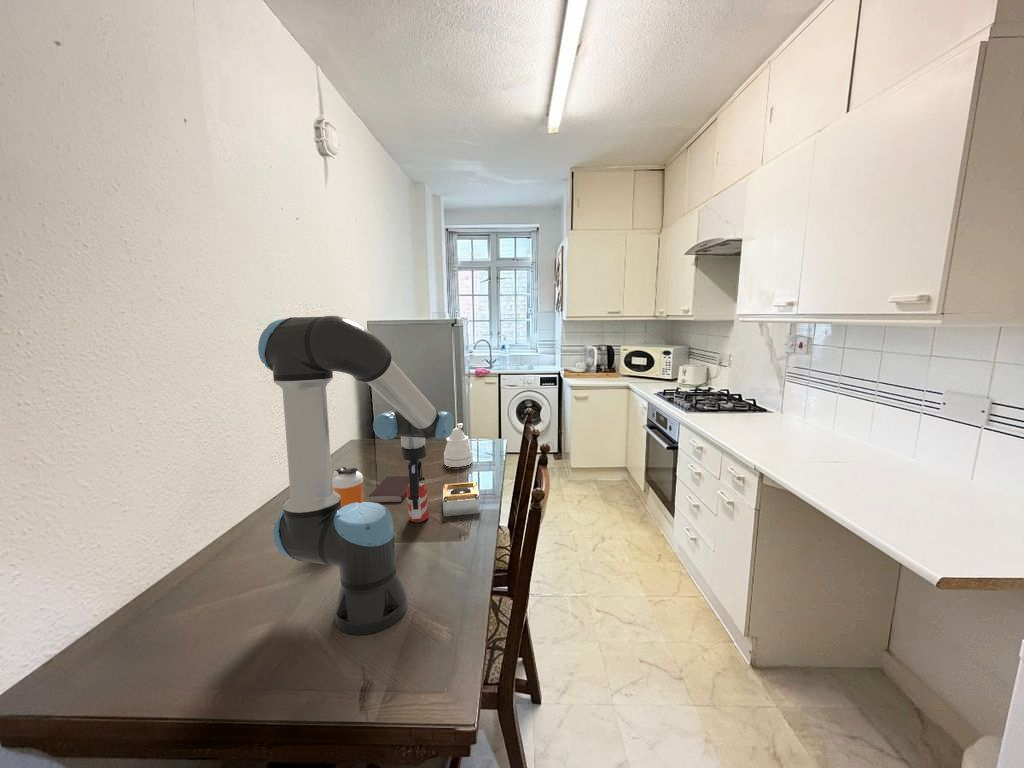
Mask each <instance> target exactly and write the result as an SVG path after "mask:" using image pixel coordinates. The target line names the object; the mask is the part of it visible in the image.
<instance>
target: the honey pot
mask: <svg viewBox="0 0 1024 768" xmlns="http://www.w3.org/2000/svg"><path fill="white" fill-rule="evenodd" d="M456 425H457V427H455V428H453V432H452V434H451V435H450V437H448V438H445V440H446V445H445V449H444V451H443V463H444V464H445V465H446V466H449V467H448V468H450V467H460V466H466V465H469V464H471V463H472V462H474V458H473V450H472V449H471V446H470V443H469V441H468V440H469V436H468V435H466V434H465V433H464V431H463V430H462V428H463V427H464V423H461V422H459V423H457V424H456ZM444 464H443V465H444ZM472 464H473V463H472ZM472 464H471V465H472ZM445 465H444V466H445ZM446 466H445V467H446ZM469 466H470V465H469Z"/></svg>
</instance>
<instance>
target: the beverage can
mask: <svg viewBox="0 0 1024 768" xmlns="http://www.w3.org/2000/svg"><path fill="white" fill-rule="evenodd" d="M406 497H407V498H406V499H407V501H406V502H407V511H408V512H407V513H408V519H409V521H411V522H413V523H422V522H424V521H425V520H427V519H428V518H429V515H430V513H429V501H428V500H429V499H428V488H427V486H426V483H425V482H424V481H419V497H420V506H421V518H418V519H412V509H411V500H408V497H410V483H409V484H408V488H407V495H406Z"/></svg>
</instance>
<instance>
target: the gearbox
mask: <svg viewBox="0 0 1024 768" xmlns="http://www.w3.org/2000/svg"><path fill="white" fill-rule="evenodd" d="M442 488H443V491H442V492H443V493H442V509H443V517H453V516H462V515H463V516H464V515H473V514H475V515H476V514H481V504H480V503H481V501H480V493H479V488H478V483H477V481H469V482H459V483H458V482H456V483H445V484H444V485H443V487H442Z"/></svg>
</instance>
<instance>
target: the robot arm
mask: <svg viewBox="0 0 1024 768" xmlns="http://www.w3.org/2000/svg"><path fill="white" fill-rule="evenodd" d="M257 350H258V351H257V352H258V356H259V359H260V361H261V363H262V364H264V366H265V368H266V369H269V371H271V372H272V377H273V383H275V384H276V385H277V386H279V387H280V388H281V390H282V400H283V412H284V413H283V414H284V426H285V427H284V428H285V440H286V441H285V442H286V454H287V467H288V480H289V492H290V493H289V494H290V497H289V498H288V499H287V500H286V501H285V502H284V504H283V506H282V507H283V510H282V511H281V512H280V513H279V514H278V516H277V522H275V523H274V525H273V530H272V538H273V542H274V545H275V548H276V549H277V551H278V552H279V553H280V555H283V556H284V557H286V558H290V559H292V560H296V561H298V562H307V563H314V564H320V565H326V566H331V567H337V568H339V576H340V577H339V578H340V579H339V580H340V589H339V591H338V595H337V600H336V603H335V608H334V617H335V619H334V620H335V624H336V627H337V628H338V629H339V630H340V631H342V632H343V633H346V634H349V635H353V636H354V635H356V636H361V635H363V636H364V635H369V634H374V633H377V632H380V631H383V630H385V629H387V628H389V627H390V626H393V625H394V624H395V623H397V622H398V621H399V620H400V619H401V618H403V616H404V614H405V612H406V610H407V609H408V594H407V590H406V588H405V586H404V584H403V582H402V579H401V577H400V576H399V573H398V568H397V556H396V542H395V526H394V523H393V517H392V516H393V515H392V514H391V511H390V510H389V509H388V508H387V507H386V506H384V505H382V504H381V503H379V502H369V501H363V502H362V503H358V502H357V503H352V504H348V505H346V506H344V507H342V508H341V498H340V495H339V494H338V493H336V492H335V491H333V486H332V478H333V476H332V475H333V474H332V473H333V472H332V471H333V470H332V461H331V460H332V459H331V445H330V441H331V440H330V428H329V411H328V400H327V398H328V397H327V386H328V385H329V383H331V381H332V380H333V379H334V375H333V374H334V373H333V372H339V373H343V374H346V375H350V376H352V377H353V378H354V379H355V380H356V381H358V382H360V383H363V384H368V385H369V387H371V388H372V389H373V390H375V392H377V394H378V395H379V396H381V397H382V398H383V400H385V401H386V402H387V403H388V404H389V405H391V407H392V408H393V409H391V410H388V411H384V412H383V413H380V414H378V415H377V416H375V418H374V420H373V423H372V428H373V431H374V434H375V435H376V436H377V437H378V438H379V439H382V440H385V441H386V440H387V441H388V440H390V439H394V438H395V437H400V446H401V454H402V455H401V457H402V459H403V460H404V461H409V462H408V465H407V466H408V476H409V477H410V497H408V500H411V509H412V519H418V518H421V506H420V497H419V481H423V482H424V481H425V477H424V475H423V468H422V467H423V461H422V460H423V459H424V458H426V456H427V445H426V439H436V440H438V439H447V438H448V437H450V435H451V434H452V432H453V429H454V426H455V422H454V417H453V415H452V414H451V412H449V411H443V410H442V411H438V410H437V408H436V407H435V406H434V405H433V404H432V403H431V402H430V400H429V399H427V397H426V396H425V395H424V394H423V393H422V392H421V391H420V389H419V388H418V387H417V386H416V385H415V384H414V383H413V382H412V381H411V379H410V378H409V377H408V376H407V375H406V374H405V373H404V371H403V370H401V368H400V367H399V366H398V365H397V364H396V363H395V361H393V354H392V352H391V350H389V348H388V347H387V346H386V345H385V343H383V342H382V341H381V340H380V339H379V338H378V337H377V336H376V335H375V334H373V333H372V332H371V331H370V330H368V329H367V328H365V327H363V326H362V325H361V324H359V323H357V322H355V321H353V320H351V319H348V318H346V317H342V316H338V315H325V316H303V317H302V316H297V317H296V316H294V317H292V316H291V317H290V316H289V317H287V318H281V319H276V320H274V321H272V322H271V323H269V324H268V325H267V326H266V328H264V329H263V331H262V333H261V334H260V336H259V339H258V344H257Z"/></svg>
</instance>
